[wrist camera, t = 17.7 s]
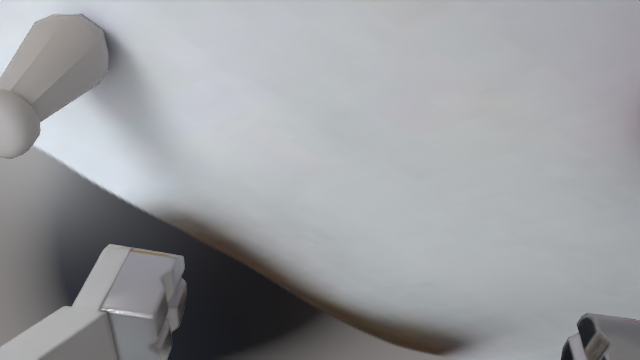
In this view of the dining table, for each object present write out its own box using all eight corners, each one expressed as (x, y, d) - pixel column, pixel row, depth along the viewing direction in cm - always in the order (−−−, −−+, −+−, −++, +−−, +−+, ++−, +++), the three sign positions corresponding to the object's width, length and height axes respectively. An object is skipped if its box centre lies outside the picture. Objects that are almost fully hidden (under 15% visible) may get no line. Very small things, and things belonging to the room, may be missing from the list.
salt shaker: (63, -14, 42) (-44, 74, 31) (132, 37, 43) (52, 135, 33) (32, 41, 45) (-74, 137, 35) (98, 86, 47) (16, 189, 37)
